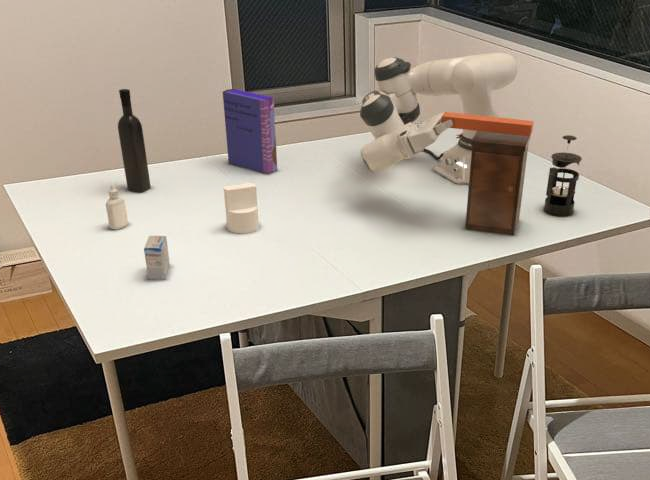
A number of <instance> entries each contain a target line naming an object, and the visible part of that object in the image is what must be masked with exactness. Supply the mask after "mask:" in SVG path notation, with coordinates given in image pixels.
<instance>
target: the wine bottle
mask: <svg viewBox="0 0 650 480" xmlns="http://www.w3.org/2000/svg"><path fill="white" fill-rule="evenodd" d="M118 94H119V98H120V103H121V109H122V116H121V117H120V118H119V119H118V122H117V132H118V137H119V144H120V151H121V156H122V163H123V169H124V175H125V181H126V187H127V190H128V191H131V192H136V193H144V192H145V191H146V190H149V189H150V188H151V187H152V186H151V178H150V172H149V164H148V158H147V152H146V144H145V137H144V130H143V125H142V122H141V121H140V119H139V118H138V117H137V116H136V115H134V113H133V108H132V100H131V97H132V96H131V90H130V89H129V88H128V89H127V88H122V89H119V90H118Z"/></svg>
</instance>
